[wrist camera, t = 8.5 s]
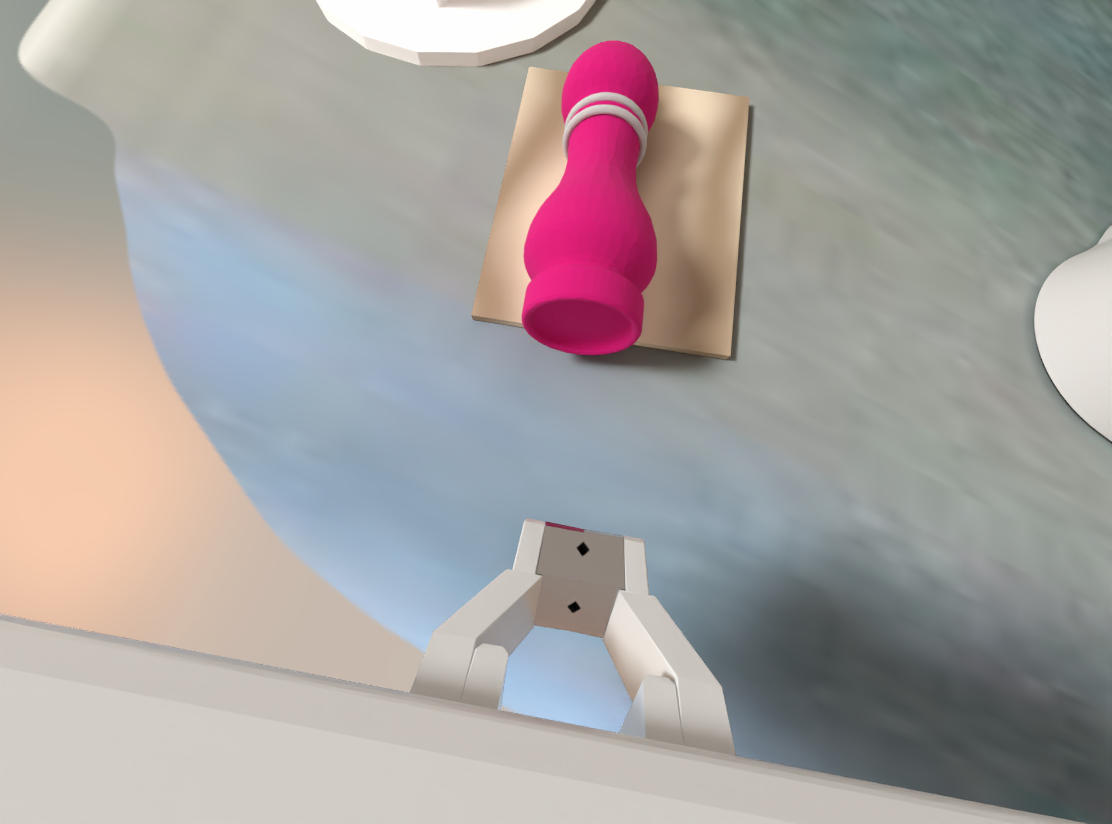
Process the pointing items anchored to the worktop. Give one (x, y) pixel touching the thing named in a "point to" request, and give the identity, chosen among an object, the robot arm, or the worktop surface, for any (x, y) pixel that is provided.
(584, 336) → the pepper mill
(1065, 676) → the worktop surface
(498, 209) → the wooden board
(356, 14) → the dish
